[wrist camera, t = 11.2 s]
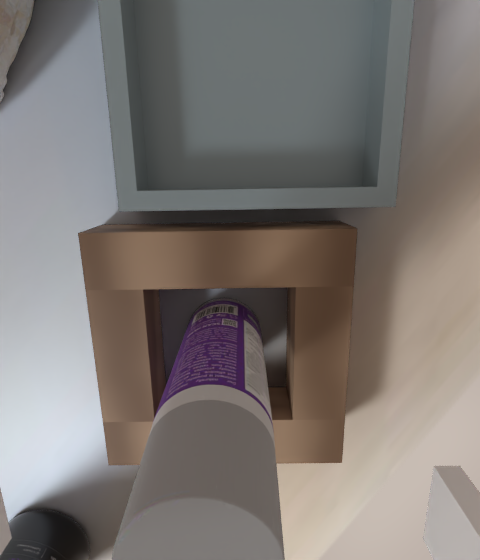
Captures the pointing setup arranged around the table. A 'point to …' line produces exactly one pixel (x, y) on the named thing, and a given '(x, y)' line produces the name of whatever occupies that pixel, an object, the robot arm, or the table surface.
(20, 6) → the stone
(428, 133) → the table surface
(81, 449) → the table surface
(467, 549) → the robot arm
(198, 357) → the container
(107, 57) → the tray
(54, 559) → the supplement bottle
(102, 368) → the block
